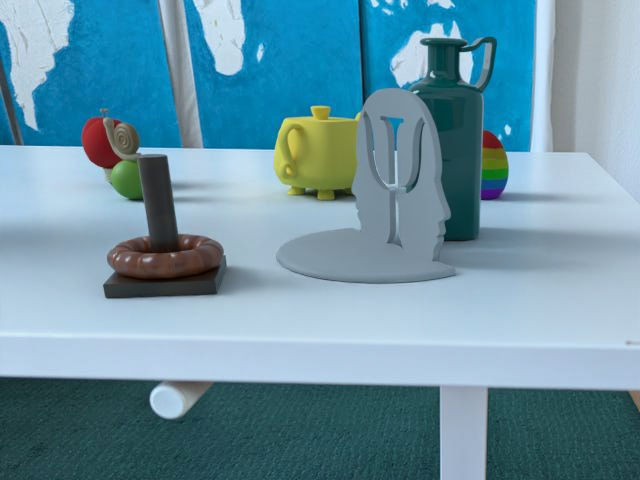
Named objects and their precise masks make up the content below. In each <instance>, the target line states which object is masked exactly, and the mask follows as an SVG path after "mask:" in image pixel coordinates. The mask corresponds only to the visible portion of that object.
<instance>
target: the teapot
mask: <svg viewBox="0 0 640 480" xmlns="http://www.w3.org/2000/svg"><path fill="white" fill-rule="evenodd" d="M310 111H311V114H312V116H298V117H297V116H295V117H294V116H293V117H285V118H284V119H283V121H282V123H281V126H280V129H279V131H278V133H277V138H276V142H275V146H274V151H273V152H274V153H273V171H274V174H275V176H276V177H277V179H278V180H279V181H280V183H281V184H283V185H286V186H291V187H290V189H289V191H288V192H287V195H290V196H301V195H305V193H306V190H307V189H311V190H317V197H316V199H317V200H321V201H331V200H335V193H334V190H344V192H345V194H346V195H354V194H353V193H352V184H353V181H354V178H355V174H356V170H357V165H358V161H357V155H356V139H357V129H358V122H359V118H360V114H361V111H359V112H358V113H357V114H356V116H355V118H347V117H335V116H330V113H331V107H330V106H328V105H312V106H310Z"/></svg>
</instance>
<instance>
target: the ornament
mask: <svg viewBox="0 0 640 480" xmlns="http://www.w3.org/2000/svg"><path fill="white" fill-rule="evenodd" d="M360 112H361V114H360V118H359V122H358V129H357V139H356V155H357V161H358V165H357V170H356V174H355V178H354V181H353V184H352V193H353V194H352V195H354V197H355V198H356V201H355V208H356V210H357V213H356V214H357V218H358V220H359V222H360V228H361V229H357V228H355V227H346V228H338V229H328V230H322V231H317V232H311V233H309V234H304V235H301V236H298V237H295V238H293V239H290V240H289V241H287V242H285V243H284V244H282V245H281V246H280V247H279V249H278V250H277V253H276V260H277V262H278V263H279V264H280V265H281V266H283V268H285V269H287V270H290V271H292V272H294V273H296V274H300V275H304V276H307V277H311V278H315V279H316V278H317V279H323V280H328V281H338V282H345V283H346V282H347V283H366V284H368V283H369V284H392V283H411V282H421V281H430V280H431V281H432V280H436V279H437V280H438V279H443V278H446V277H451V276H456V273H457V272H456V269H455V268H454V267H453V266H451V265H449V264H446V263H443V262H441V261H439V259H440V253H441V251H440V250H441V246H442V245H443V244H444V242H445V240H444V237H443V235H444V234H445V232H446V229H445V225H444V222H445V220H448V219H449V218H450V217H451V212H450V209H449V206H448V203H447V201H446V198H445V195H444V192H443V188H442V184H441V174H442V157H441V149H440V143H439V138H438V133H437V129H436V126H435V123H434V121H433V118H432V116H431V114H430V112H429V110H428V108H427V106H426V105H425V103H424V102H423V101H422V100H421V99H420V98H419V97H418V96H417V95H415V94H414V93H412V92H411V91H407V89H403V88H397V87H388V88H380V89H378V90H376V91H374V92H373V93H372V94H370V95H369V96H368V97H367V99H366V100H365V102H364V104H363V106H362V109H361V111H360ZM388 118H391V119H393V118H394V119H402V120H403V122H400V123H399V125H398V128H397V132H396V141H395V132H394V131H395V130H394V128H393V124H392V122H391V120H388ZM423 123H425V124H424V126H423V130H422V144H421V167H420V174H419V179H418V182H417V184H416V186H415V187H414V189H413V190H412V191H410V192H409V193H407V194H406V192H399V193H397V191H396V190H395V189H391V188H389V187H388V186H387V185H396V178H397V187H398V188H406V187H408V186H411V185H412V184H413V183H414V181H415V179H416V176H417V173H418V166H419V140H420V133H421V128H422V125H423ZM395 143H396V146H395ZM395 147H396V148H395ZM396 169H397V170H396ZM396 172H397V177H396ZM396 193H397V194H396ZM396 195H397V196H396ZM396 197H397V198H396ZM396 201H397V202H396ZM396 203H397V204H396ZM397 213H398V214H397ZM397 215H398V236H399V241H400V244H401V246H400V245H398V244H396V243H393V242H394V240H395V238H396V234H397Z"/></svg>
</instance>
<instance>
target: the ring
mask: <svg viewBox="0 0 640 480" xmlns="http://www.w3.org/2000/svg"><path fill="white" fill-rule="evenodd" d="M178 235H179V242H180V249H181V251H180V252H173V253H152V249H151V243H150V237H149V235H145V236H138V237H134V238H130V239H127V240H124V241H120V242H118V243H117V244H116V245H115V246H113V247H112V248H111V249H110V250H109V251H108V253H107V254H106V255H107V256H106V261H107V264H108V266H109V267H110V268H111V269H113V270H114V272H115V271H117V272H118V273H120V274H121V275H123V276H127V277H134V278H141V279H172V278H179V277H185V276H191V275H197V274H200V273H203V272H206V271H208V270H211V269H214V268H216V267H217V266H218V265H219V264H220V262H221V260H222V258H223V255H225V249H224V247H223V245H222V244H221V243H220V242H219V241H217V240H215V239H213V238H210V237H209V236H205V235H201V234H200V235H199V234H190V233H178Z"/></svg>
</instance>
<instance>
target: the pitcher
mask: <svg viewBox="0 0 640 480" xmlns="http://www.w3.org/2000/svg"><path fill="white" fill-rule="evenodd" d="M419 44H420V45H421V46H424V47H427V71H426V74H425V76H424V78H423V79H421V80H419V81H415V82H414V83H412V84H410V85H409V86H408V87H407V88H406V90H407V91H411V92H412V93H414V94H415V95H417V96H418V97H419V98H420V99H421V100H422V101H423V102H424V103H425V105H426V106H427V108H428V110H429V112H430V114H431V116H432V118H433V121H434V123H435V126H436V129H437V133H438V138H439V143H440V149H441V157H442V174H441V184H442V188H443V192H444V195H445V198H446V201H447V203H448V206H449V209H450V212H451V217H450V218H449V219H448V220H445V222H444V225H445V229H446V232H445V234H444V235H443V237H444V241H469V240H474V239H476V238H477V237H478V236H479V235H480V232H481V200H482V199H481V172H482V139H483V130H484V105H485V104H484V103H485V102H484V96H483V92H484V91H485V90H486V89H487V87H488V85H489V83H490V81H491V79H492V76H493V73H494V66H495V61H496V54H497V47H498V40H497V38H495V36H484V37H479V38H476V39H474V41H473V42H472V43H471V44H470V45H469V41H467V40H466V39H463V38H456V37H423V38H420V40H419ZM483 44H485V47H484V55H483V64H482V69H481V73H480V76H479V79H478V80H477V81H476V83H475V84H471V83H469V82H467V81H466V80H464V78H463V77H462V75H461V54H462V53H470V52H474V51H476V50H477V49H479V48H480V47H481V46H482V45H483ZM424 124H425V123H423V125H422V128H421V133H420V140H419V166H418V173H417V176H416V179H415V181H414V183H413V184H412V185H411V186H408V187H405V193H406V194H407V193H409V192H410V191H412V190H413V189H414V187H415V186H416V184H417V182H418V179H419V174H420V167H421V144H422V130H423V126H424Z"/></svg>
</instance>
